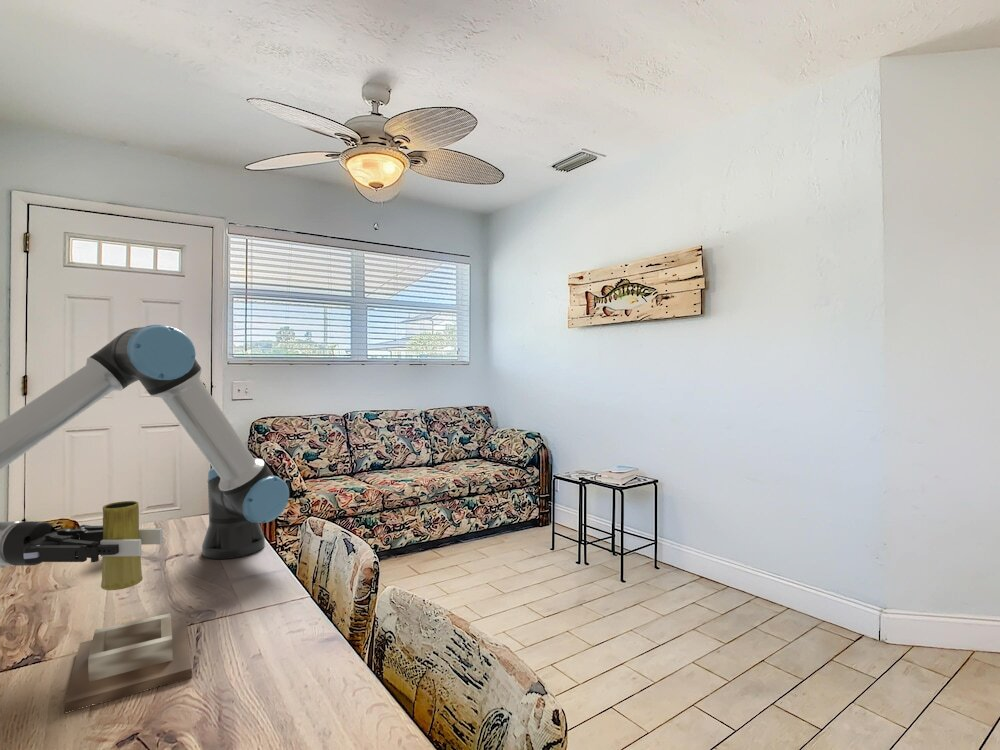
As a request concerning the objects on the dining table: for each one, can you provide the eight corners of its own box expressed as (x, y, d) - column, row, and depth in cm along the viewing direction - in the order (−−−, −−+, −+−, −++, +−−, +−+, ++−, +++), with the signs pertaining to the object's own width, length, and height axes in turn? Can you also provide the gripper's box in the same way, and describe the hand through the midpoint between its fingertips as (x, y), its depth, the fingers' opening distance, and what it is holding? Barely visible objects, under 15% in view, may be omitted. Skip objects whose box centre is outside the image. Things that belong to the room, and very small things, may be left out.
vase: (150, 579, 98) (149, 501, 98) (116, 593, 92) (114, 510, 92) (127, 575, 100) (126, 499, 100) (92, 588, 94) (90, 507, 94)
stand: (185, 626, 103) (185, 600, 103) (191, 677, 86) (191, 646, 86) (80, 651, 94) (79, 623, 94) (64, 713, 77) (63, 679, 77)
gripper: (60, 546, 105) (180, 545, 105) (-31, 585, 87) (115, 583, 87) (59, 508, 105) (180, 507, 105) (-32, 539, 86) (114, 537, 87)
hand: (150, 541), depth 96 cm, fingers closed on vase, 5 cm apart
